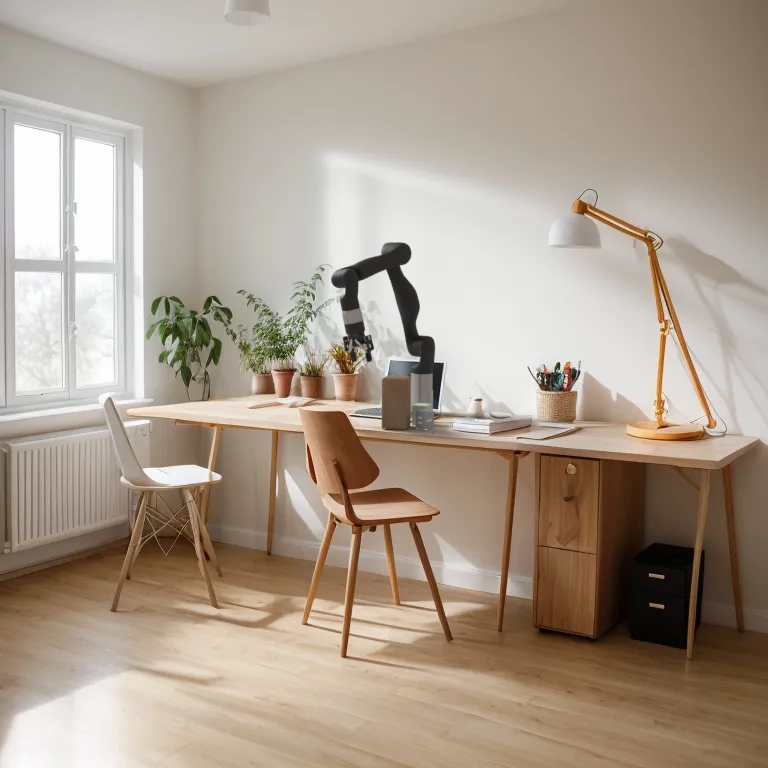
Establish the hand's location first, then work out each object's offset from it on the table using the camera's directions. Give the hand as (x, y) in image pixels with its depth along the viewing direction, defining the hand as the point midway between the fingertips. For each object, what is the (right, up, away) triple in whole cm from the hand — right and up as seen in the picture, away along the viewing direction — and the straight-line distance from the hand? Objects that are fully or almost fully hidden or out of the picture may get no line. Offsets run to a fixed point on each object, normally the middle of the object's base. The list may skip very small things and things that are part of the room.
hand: (361, 361), depth 328 cm
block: (+13, -26, +3) cm, 29 cm away
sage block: (+24, -25, +11) cm, 36 cm away
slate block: (+24, -26, +2) cm, 36 cm away
